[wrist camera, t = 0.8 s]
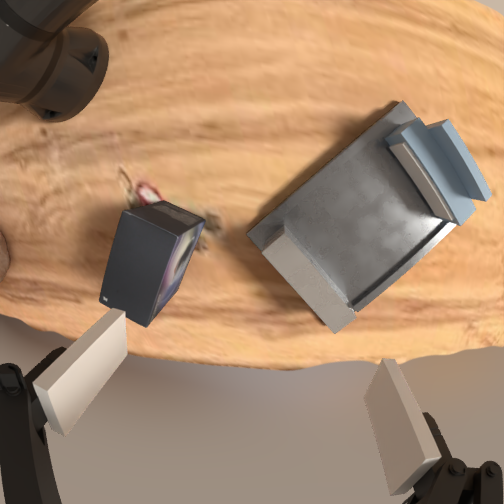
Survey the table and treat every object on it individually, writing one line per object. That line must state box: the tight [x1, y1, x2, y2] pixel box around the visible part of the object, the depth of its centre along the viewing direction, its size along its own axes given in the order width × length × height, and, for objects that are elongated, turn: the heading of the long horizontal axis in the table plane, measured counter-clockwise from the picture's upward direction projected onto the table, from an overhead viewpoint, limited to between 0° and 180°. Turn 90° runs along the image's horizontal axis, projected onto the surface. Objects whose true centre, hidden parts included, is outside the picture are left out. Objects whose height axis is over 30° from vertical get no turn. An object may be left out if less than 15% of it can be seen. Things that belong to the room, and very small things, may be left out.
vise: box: [246, 101, 456, 334], centre depth 30 cm, size 16×25×6 cm, turn 132°
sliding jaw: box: [385, 117, 492, 226], centre depth 26 cm, size 12×5×8 cm, turn 42°
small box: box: [99, 201, 206, 328], centre depth 31 cm, size 11×6×10 cm, turn 156°
